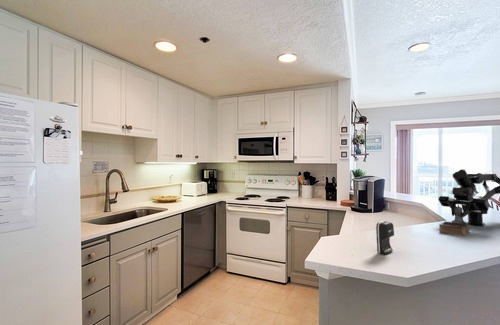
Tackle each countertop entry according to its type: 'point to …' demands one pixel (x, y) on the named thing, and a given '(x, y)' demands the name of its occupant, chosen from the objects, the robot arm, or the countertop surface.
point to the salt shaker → (458, 216)
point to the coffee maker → (384, 236)
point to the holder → (454, 228)
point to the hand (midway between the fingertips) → (457, 216)
